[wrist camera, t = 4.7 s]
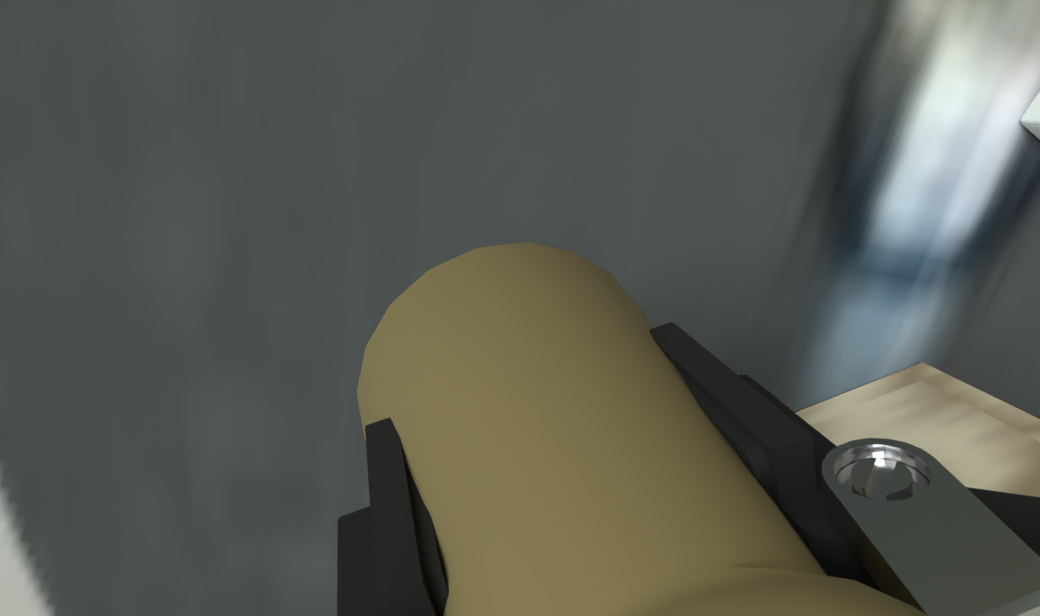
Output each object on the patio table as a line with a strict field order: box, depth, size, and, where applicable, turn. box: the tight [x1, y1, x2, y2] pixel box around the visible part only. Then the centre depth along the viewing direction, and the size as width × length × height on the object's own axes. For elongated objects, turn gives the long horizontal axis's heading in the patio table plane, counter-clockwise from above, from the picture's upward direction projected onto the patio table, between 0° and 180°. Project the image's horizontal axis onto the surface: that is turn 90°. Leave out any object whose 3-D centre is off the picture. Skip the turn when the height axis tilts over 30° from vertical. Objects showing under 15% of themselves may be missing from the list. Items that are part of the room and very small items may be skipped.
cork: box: [357, 242, 928, 616], centre depth 9 cm, size 6×6×11 cm
